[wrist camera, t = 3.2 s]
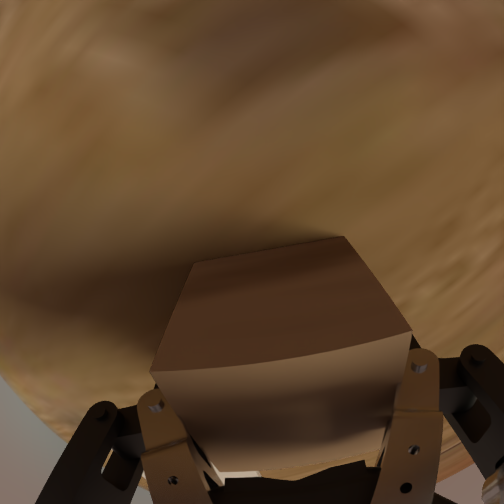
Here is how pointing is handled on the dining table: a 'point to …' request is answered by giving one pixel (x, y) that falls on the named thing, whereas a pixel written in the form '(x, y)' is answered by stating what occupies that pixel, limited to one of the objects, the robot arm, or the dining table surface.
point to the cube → (283, 357)
